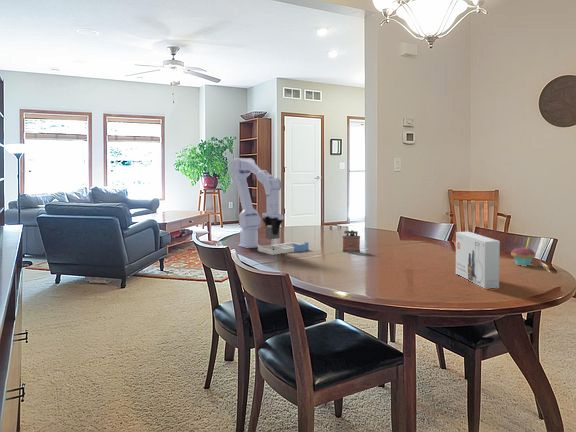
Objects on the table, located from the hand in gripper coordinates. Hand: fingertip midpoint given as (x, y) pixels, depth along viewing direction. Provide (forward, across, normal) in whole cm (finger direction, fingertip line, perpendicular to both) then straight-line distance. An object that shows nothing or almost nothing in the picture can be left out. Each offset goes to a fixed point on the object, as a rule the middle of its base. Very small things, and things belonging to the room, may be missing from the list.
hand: (272, 233), depth 209 cm
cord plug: (+2, 0, 0) cm, 2 cm away
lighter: (+8, +22, +29) cm, 37 cm away
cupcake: (+8, +84, +63) cm, 105 cm away
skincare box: (+8, +87, +24) cm, 91 cm away
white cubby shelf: (+8, 0, +6) cm, 10 cm away
